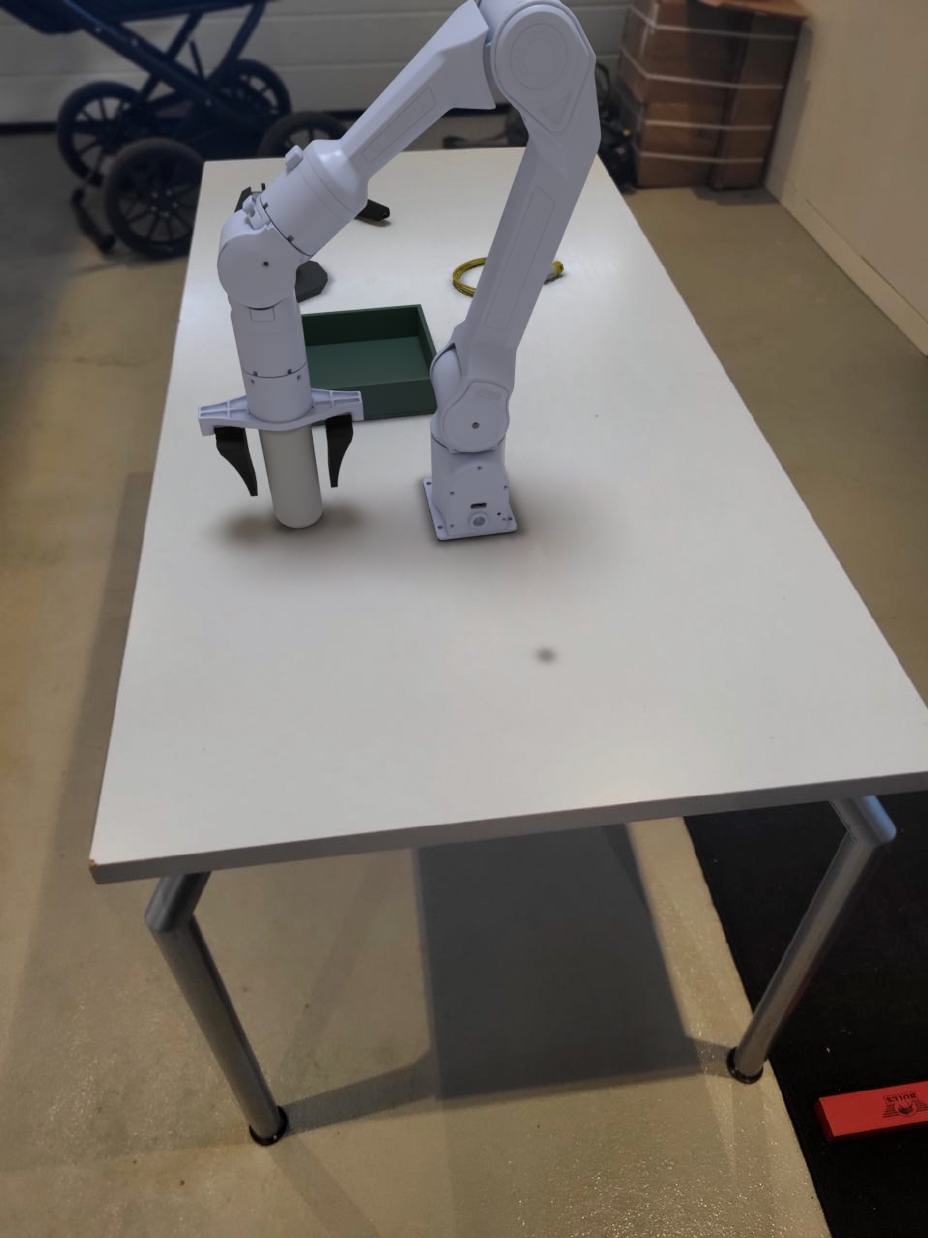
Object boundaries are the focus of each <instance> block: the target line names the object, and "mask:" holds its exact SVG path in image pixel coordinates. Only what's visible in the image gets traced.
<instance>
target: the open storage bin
mask: <svg viewBox="0 0 928 1238" xmlns="http://www.w3.org/2000/svg"><path fill="white" fill-rule="evenodd" d="M301 318H302V326H303V333H304V341H305V348H306V356H307V363H308V370H309V378H310V385H311V388H313V389H323V390H333V391H345V392H352V391H360V393H361V398H362V404H363V415H364V420H363V421H370V420H379V419H380V420H381V419H390V418H399V417H408V416H418V415H427V414H428V415H429V414H435V412H436V410H437V408H438V406H437V401H436V396H435V391H434V388H433V385H432V383H431V379H430V367H431V364H432V361H433V359H434V357H435V356H436V355H437V353H438V352H437V349H436V346H435V343H434V339H433V337H432V334H431V331H430V328H429V325H428V321H427V318H426V316H425V312H424V310H423V306H422V304H421V303H417V304H404V305H391V306H381V307H370V308H359V309H348V310H347V309H346V310H345V309H344V310H334V311H324V312H313V313H312V312H311V313H301ZM352 422H354V421H353V420H352ZM323 425H325V422H324V420H320V421H317V422H314V423H311V427H312V426H313V427H314V426H323Z"/></svg>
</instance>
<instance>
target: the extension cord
mask: <svg viewBox="0 0 928 1238" xmlns="http://www.w3.org/2000/svg"><path fill="white" fill-rule="evenodd" d="M486 259H487V256H485V257H484V256H483V257H479V258H475V259H471V260H468V261H466V262H464V263H462V264H460V265H458V266H457V267H456V268H455V269H454V270H453V272H452V279H453V281H454V284H455V285H456V286H457V288H458V289H460V290H461V291H463V292H465V293H466V294H469V295H471V296H474V293H475V290H476V287H472V286H469V285H467V284H464V283H462V282H461V281H460V277H461V275H462V274H463V273H464V272H465V271H466V270H468V269H470V268H472V267H474V266H477V265H480V264H485V262H486ZM564 270H565V267H564V264H563V263H562V262H561V261H559V260H556V261H553V262H552V265H551V267H550V270H549V272H548V275H547V277H546V280H545V281H547V280H553V278H555V277H557V276H558V275H560V274H562V273H563V271H564Z"/></svg>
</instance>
